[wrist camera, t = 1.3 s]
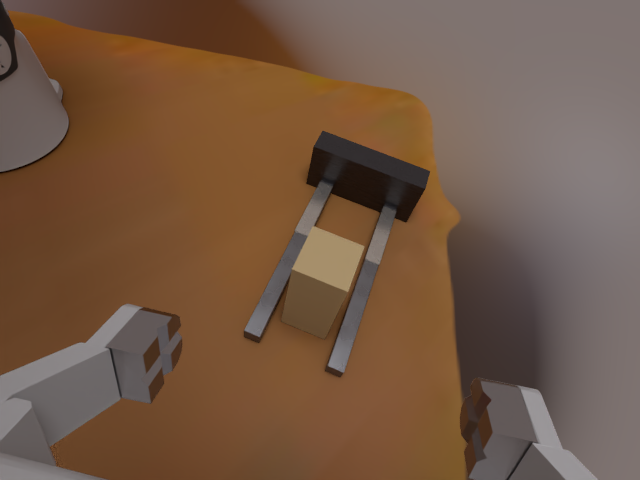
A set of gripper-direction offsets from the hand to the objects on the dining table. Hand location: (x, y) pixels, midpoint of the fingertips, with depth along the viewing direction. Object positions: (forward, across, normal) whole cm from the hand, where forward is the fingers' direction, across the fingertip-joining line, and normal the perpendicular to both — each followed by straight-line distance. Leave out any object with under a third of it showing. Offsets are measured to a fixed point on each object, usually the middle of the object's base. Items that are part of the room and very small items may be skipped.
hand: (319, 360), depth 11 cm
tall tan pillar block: (+22, +3, +17) cm, 28 cm away
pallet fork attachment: (+27, +2, +15) cm, 31 cm away
